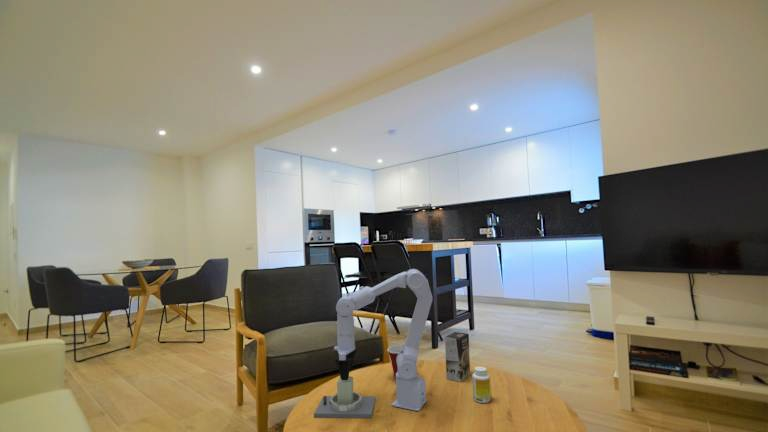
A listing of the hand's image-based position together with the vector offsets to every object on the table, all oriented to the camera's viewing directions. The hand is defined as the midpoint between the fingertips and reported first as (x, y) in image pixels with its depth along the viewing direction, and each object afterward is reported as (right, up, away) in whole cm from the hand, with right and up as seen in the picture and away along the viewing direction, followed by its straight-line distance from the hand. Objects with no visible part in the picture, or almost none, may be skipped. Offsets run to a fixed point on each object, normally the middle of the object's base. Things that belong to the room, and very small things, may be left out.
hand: (346, 375), depth 116 cm
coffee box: (+42, -10, +20) cm, 47 cm away
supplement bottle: (+45, -9, +1) cm, 46 cm away
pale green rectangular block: (0, -8, -2) cm, 9 cm away
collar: (-1, -8, -2) cm, 9 cm away
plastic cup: (+19, -11, +20) cm, 30 cm away
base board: (0, -10, -2) cm, 10 cm away
